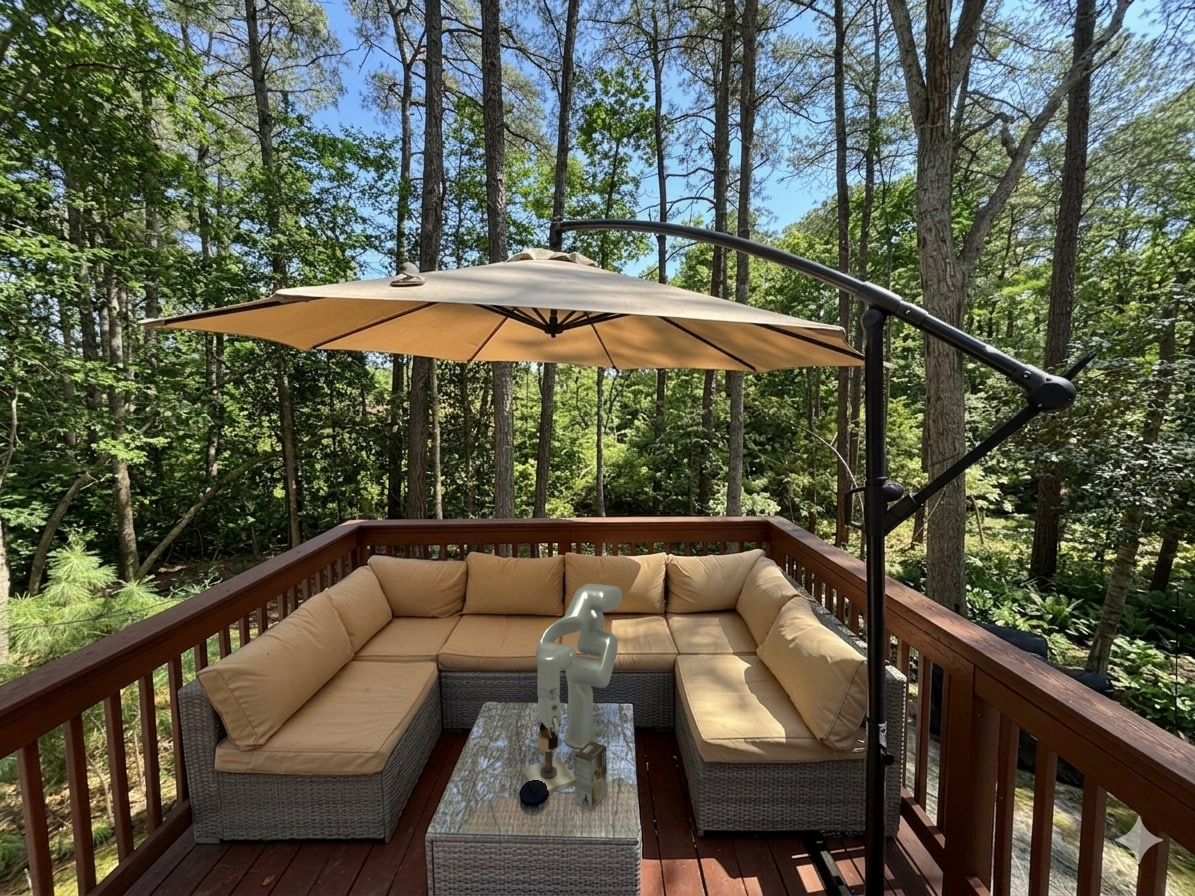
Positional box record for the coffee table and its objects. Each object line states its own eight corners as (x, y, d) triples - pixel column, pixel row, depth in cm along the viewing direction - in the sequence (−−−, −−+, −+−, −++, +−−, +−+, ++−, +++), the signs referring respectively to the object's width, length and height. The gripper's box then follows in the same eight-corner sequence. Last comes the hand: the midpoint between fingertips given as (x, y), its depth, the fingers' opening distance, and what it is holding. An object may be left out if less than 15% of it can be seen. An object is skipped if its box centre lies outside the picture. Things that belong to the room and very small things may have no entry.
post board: (559, 762, 185) (559, 725, 185) (576, 785, 173) (576, 746, 173) (521, 774, 179) (521, 735, 178) (536, 799, 166) (537, 758, 166)
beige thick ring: (553, 737, 180) (553, 726, 180) (562, 748, 174) (562, 736, 174) (534, 742, 177) (534, 731, 177) (542, 753, 171) (542, 741, 171)
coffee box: (590, 787, 172) (590, 739, 172) (607, 794, 169) (607, 745, 168) (574, 803, 164) (575, 753, 164) (591, 811, 161) (592, 760, 161)
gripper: (569, 698, 169) (569, 752, 170) (548, 677, 185) (548, 726, 185) (548, 704, 166) (548, 759, 166) (529, 681, 181) (528, 732, 181)
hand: (548, 741), depth 175 cm, fingers closed on beige thick ring, 7 cm apart
